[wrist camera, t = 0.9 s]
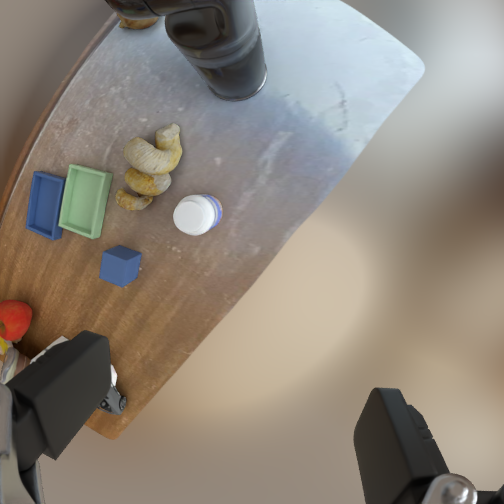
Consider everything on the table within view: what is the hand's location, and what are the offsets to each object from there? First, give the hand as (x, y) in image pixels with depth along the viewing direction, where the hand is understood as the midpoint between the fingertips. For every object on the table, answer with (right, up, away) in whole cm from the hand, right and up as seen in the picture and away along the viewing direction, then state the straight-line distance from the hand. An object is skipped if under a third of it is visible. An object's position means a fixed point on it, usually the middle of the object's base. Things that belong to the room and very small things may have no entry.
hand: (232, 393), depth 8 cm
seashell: (-15, +18, +39) cm, 45 cm away
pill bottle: (-6, +10, +39) cm, 41 cm away
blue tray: (-37, +13, +42) cm, 58 cm away
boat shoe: (-60, -27, +44) cm, 79 cm away
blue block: (-20, +2, +42) cm, 47 cm away
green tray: (-28, +13, +41) cm, 51 cm away
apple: (-49, -9, +47) cm, 68 cm away
